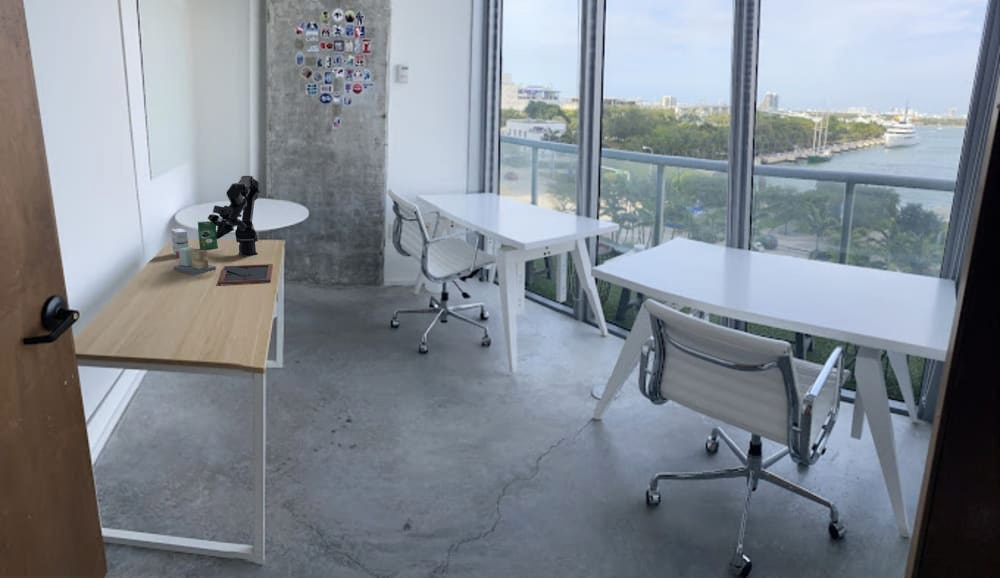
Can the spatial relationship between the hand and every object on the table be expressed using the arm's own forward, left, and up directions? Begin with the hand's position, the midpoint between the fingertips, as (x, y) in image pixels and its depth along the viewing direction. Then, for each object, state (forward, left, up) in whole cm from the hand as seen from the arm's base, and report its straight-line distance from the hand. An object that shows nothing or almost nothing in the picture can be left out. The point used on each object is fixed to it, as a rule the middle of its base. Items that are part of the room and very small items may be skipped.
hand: (216, 238), depth 318 cm
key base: (+10, -2, -13) cm, 16 cm away
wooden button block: (+9, +2, -11) cm, 14 cm away
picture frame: (-1, +21, -13) cm, 25 cm away
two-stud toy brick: (+11, -6, -11) cm, 17 cm away
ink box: (+2, -30, -13) cm, 33 cm away
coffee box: (-13, -33, -13) cm, 38 cm away
